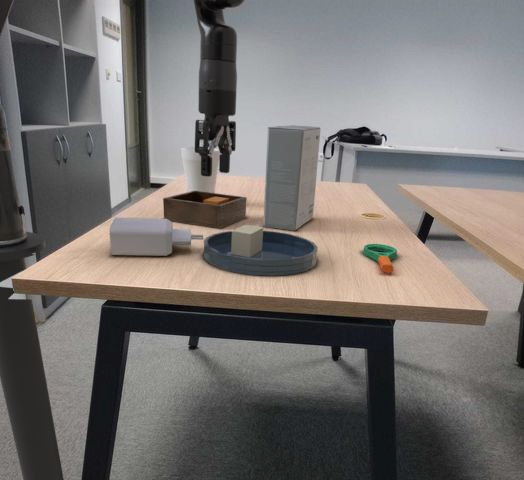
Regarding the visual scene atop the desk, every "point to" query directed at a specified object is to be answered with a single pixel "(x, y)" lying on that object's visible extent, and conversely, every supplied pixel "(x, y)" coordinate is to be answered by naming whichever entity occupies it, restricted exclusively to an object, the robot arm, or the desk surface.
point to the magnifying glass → (381, 255)
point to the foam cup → (198, 170)
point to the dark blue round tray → (263, 254)
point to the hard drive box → (290, 176)
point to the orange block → (216, 200)
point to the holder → (204, 209)
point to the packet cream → (247, 240)
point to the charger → (147, 236)
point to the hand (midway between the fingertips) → (215, 174)
